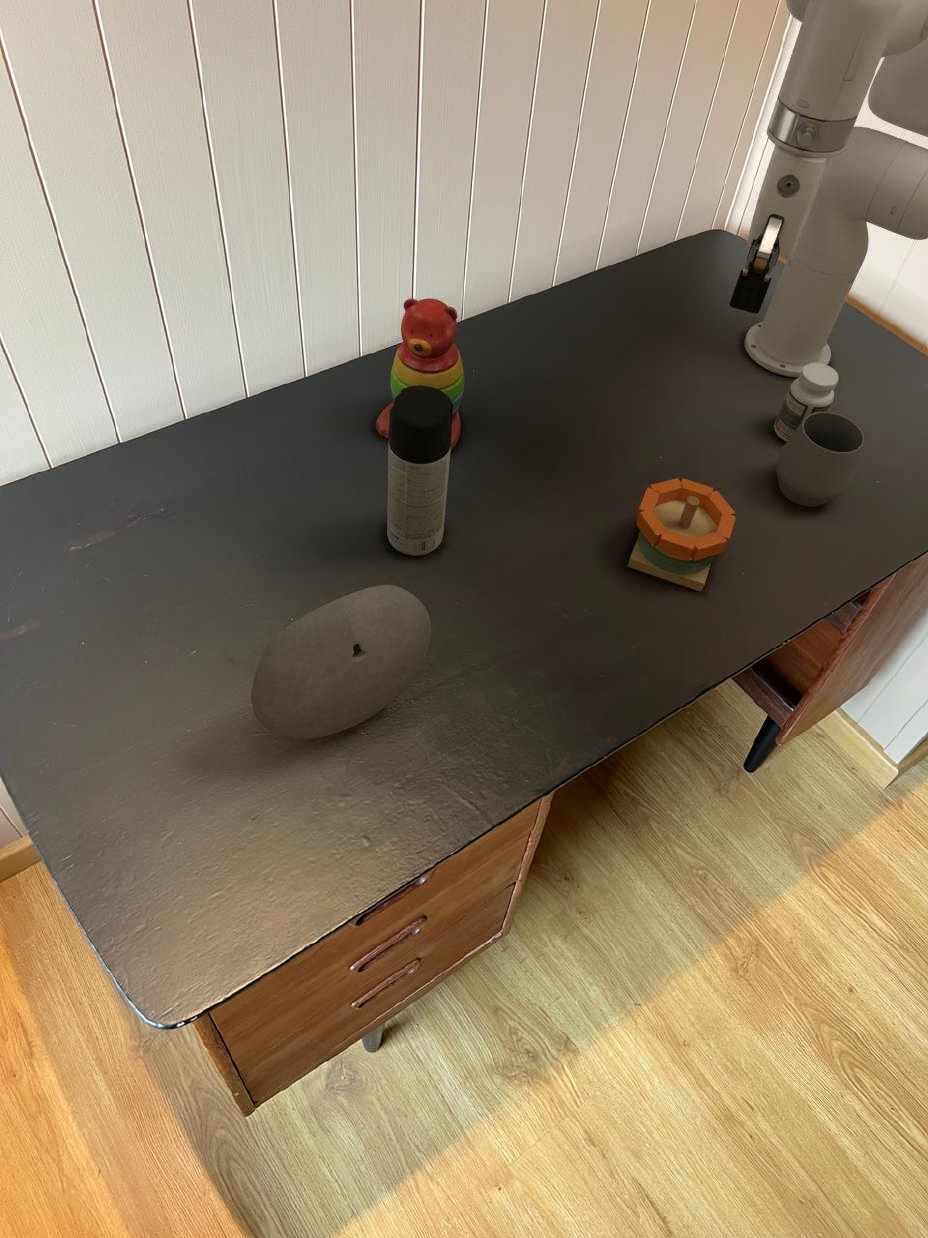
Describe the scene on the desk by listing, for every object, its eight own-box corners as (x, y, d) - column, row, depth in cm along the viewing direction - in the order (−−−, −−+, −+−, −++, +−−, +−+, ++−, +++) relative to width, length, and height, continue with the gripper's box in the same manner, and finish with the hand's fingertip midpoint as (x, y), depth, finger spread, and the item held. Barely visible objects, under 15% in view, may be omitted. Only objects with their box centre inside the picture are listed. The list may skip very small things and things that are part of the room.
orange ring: (650, 481, 109) (654, 468, 108) (736, 508, 108) (742, 496, 106) (627, 540, 103) (631, 528, 102) (718, 571, 101) (723, 559, 100)
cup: (854, 498, 118) (888, 440, 110) (807, 528, 114) (840, 469, 106) (797, 456, 122) (827, 396, 114) (751, 483, 118) (778, 423, 110)
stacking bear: (370, 433, 118) (369, 314, 104) (402, 389, 124) (405, 270, 110) (446, 459, 116) (456, 342, 102) (476, 413, 122) (488, 295, 108)
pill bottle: (811, 421, 126) (839, 362, 119) (816, 449, 123) (846, 390, 115) (770, 416, 127) (796, 356, 119) (774, 444, 123) (801, 384, 115)
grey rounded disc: (408, 655, 98) (413, 537, 83) (443, 704, 94) (455, 590, 79) (248, 731, 91) (222, 617, 76) (279, 787, 87) (259, 679, 72)
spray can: (451, 525, 110) (463, 392, 94) (431, 565, 106) (440, 433, 90) (399, 509, 110) (403, 375, 95) (378, 548, 106) (378, 414, 91)
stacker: (645, 516, 113) (663, 462, 106) (718, 539, 111) (741, 486, 104) (626, 567, 108) (643, 514, 100) (701, 592, 106) (725, 541, 99)
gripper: (838, 173, 80) (772, 338, 94) (861, 96, 90) (798, 255, 104) (755, 152, 81) (701, 318, 95) (786, 79, 92) (734, 238, 105)
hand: (752, 285), depth 99 cm, fingers open, 9 cm apart
